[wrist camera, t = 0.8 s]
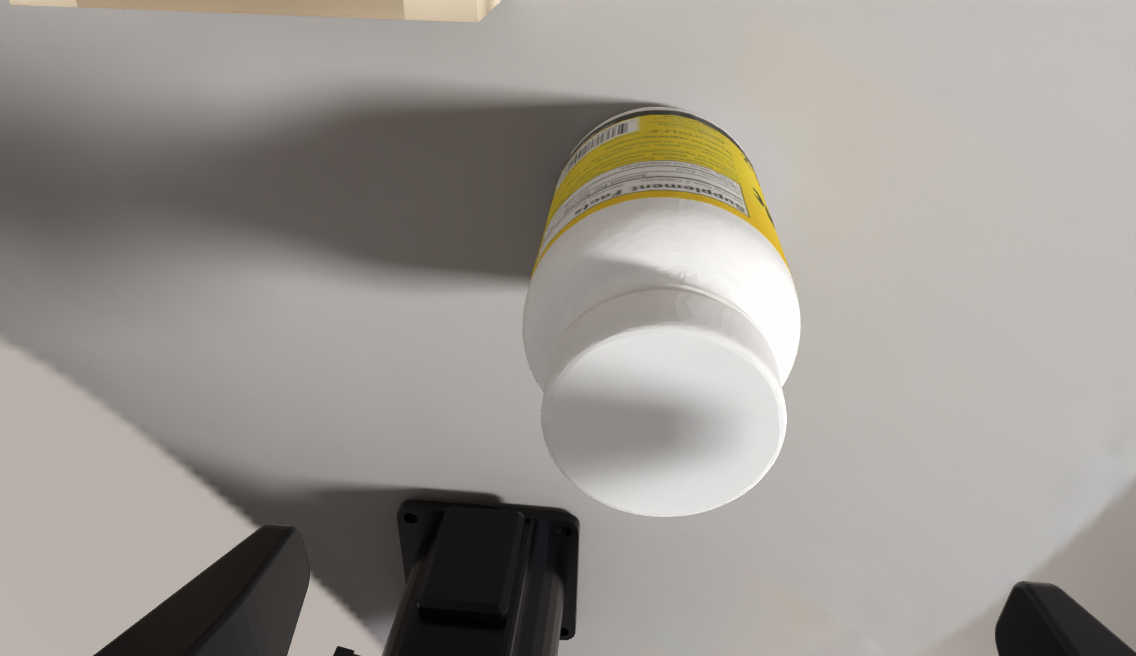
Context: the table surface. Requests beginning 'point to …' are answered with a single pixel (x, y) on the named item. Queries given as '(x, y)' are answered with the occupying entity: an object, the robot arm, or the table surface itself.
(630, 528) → the table surface
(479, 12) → the square holder
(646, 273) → the supplement bottle
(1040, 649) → the robot arm
